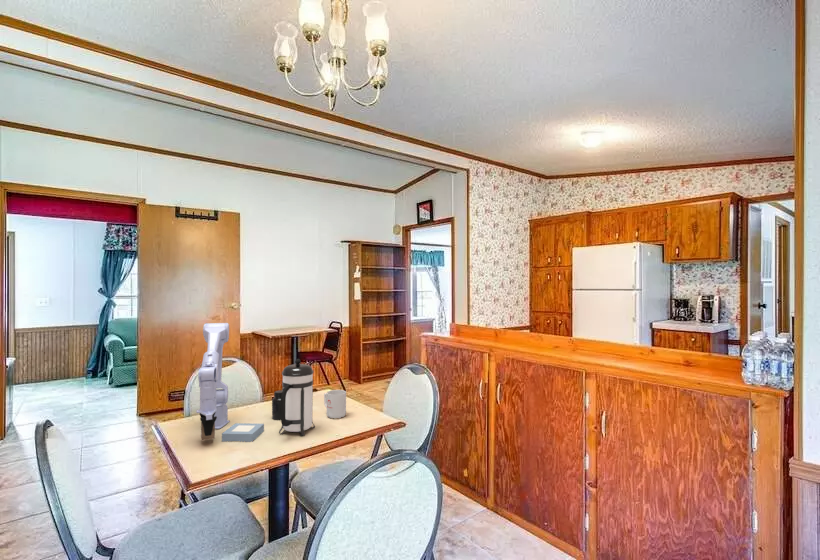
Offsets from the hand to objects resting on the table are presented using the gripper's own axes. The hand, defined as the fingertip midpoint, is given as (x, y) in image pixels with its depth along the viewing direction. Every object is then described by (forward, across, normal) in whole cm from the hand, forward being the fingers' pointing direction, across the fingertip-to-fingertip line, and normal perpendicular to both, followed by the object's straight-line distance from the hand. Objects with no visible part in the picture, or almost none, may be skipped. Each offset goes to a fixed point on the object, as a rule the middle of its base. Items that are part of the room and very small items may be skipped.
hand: (207, 433), depth 161 cm
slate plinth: (+3, 0, +13) cm, 13 cm away
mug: (+4, -8, +53) cm, 54 cm away
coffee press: (+4, +5, +33) cm, 33 cm away
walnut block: (+2, 0, 0) cm, 2 cm away
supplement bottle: (+4, -17, +31) cm, 35 cm away
